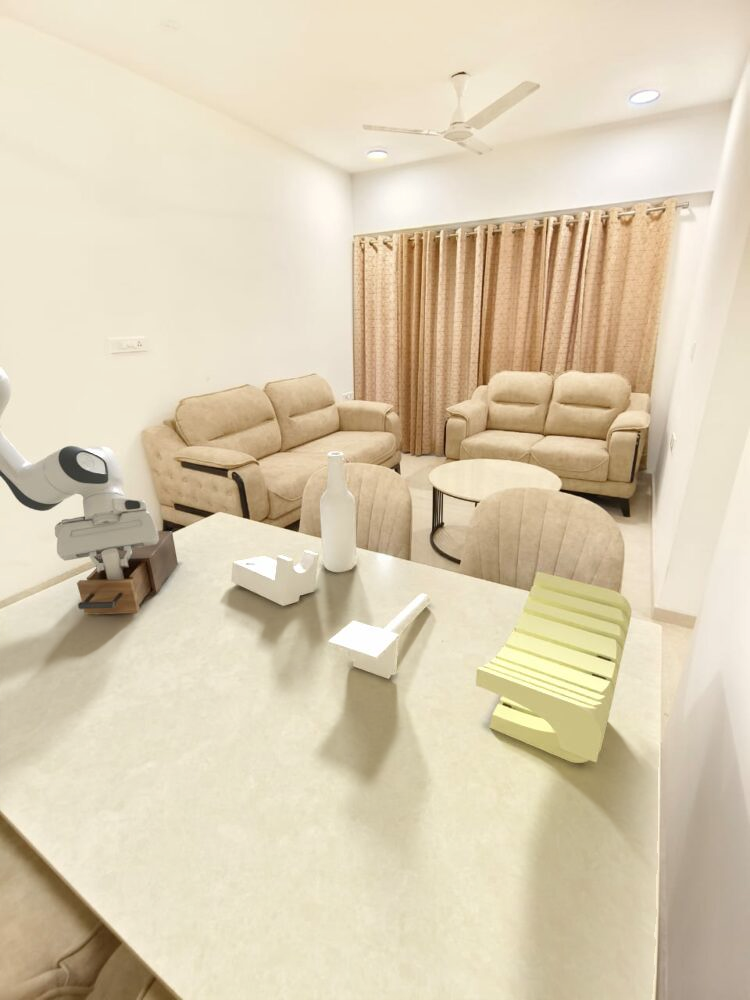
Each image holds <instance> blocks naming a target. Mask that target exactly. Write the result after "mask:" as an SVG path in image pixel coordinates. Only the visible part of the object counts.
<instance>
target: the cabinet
mask: <svg viewBox="0 0 750 1000" xmlns="http://www.w3.org/2000/svg"><path fill="white" fill-rule="evenodd" d="M157 532H158V536H159V541H158V543H157V544H155V545H150V546H144V547H139V548H133V549H132V554H131V556H130V558H129V560H128V562H132V561H147V565H148V570H149V575H150V579H151V584H152V588H151V590H150V591H149V592H148V594H147V595H157V594H158V593H159V592H160V590H161V589H162V587H163V586H164V585H165V583H166V582H167V580H168V579H169V578H170V576H172V573H173V572H174V571H175V569H176V568H177V566H178V565H179V562H178V556H177V550H176V544H175V540H174V535H173V530H166V531H165V530H163V531H162V530H161V531H158V530H157ZM118 554H119V558H120V559H124V556H125V554H126V553H125V551H124V550H122V551H118ZM98 558H99V559H96V560H97V561H98V562H99V563H102V562H103V559H102V554H100V555H98ZM94 566H95V569H96V568H97V566H96V564H95V563H94Z"/></svg>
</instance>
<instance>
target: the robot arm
mask: <svg viewBox="0 0 750 1000" xmlns="http://www.w3.org/2000/svg"><path fill="white" fill-rule="evenodd" d="M11 394H12V386H11V380H10V378H9V376H8V374H7V373H6V372H5V370H4V369H3V367H1V366H0V420H1V419H2V416H3V414H4V412H5V410H6V407H7V406H8V404H9V402H10V398H11ZM0 477H1V479H2V480H3V481H4V483H6V485H7V486H8V488H9V490H10V491H11V493H12V494H13V496H14V497H15V499H16V500H17V501H18V502H19V503H20V504H21V505H23V506H25V507H26V508H29V509H31V510H33V511H40V512H45V511H49V510H52V509H54V508H56V506H58V505H60V503H62V502H64V501H65V500H67V499H69V498H71V497H73V496H74V495H80V496H82V507H83V515H82V516H77V517H73V518H64V519H62V520H61V521H60V522H59V521H58V523H56V524H55V526H54V535H55V538H56V554H57V556H58V557H59V558H60V559H61V560H63V561H71V560H72V561H73V560H76V559H82V558H88V557H89V559H90V560H91V561H92V562H93V564H94V565H95V564H96V565H95V567H96V566H97V572H98V573H103V572H106V571H105V567H104V563H99V562H98V561H97V560H96V559H99V558H98V555H100V554H101V552H102V551H104V550H106V549H110V548H116V549H117V550H118V551H122V550H124V551H125V553H126V554H125V556H124V559H120V563H121V564H120V566H121V569H123V568H129V565H128V560H129V558H130V556H131V554H132V549H133V548H139V547H144V546H150V545H155V544H157V543H158V541H159V536H158V528H157V525H156V523H155V519H154V517H153V515H152V514H151V513H150V511H149V507H148V505H147V503H146V502H145V501H144V500H139V499H131V498H126V495H125V493H124V476H123V471H122V466H121V463H120V461H119V458H118V456H117V455H116V453H115V452H114V451H113V450H112V449H111V448H109V447H107V446H101V445H92V446H88V447H86V448H82V447H79V446H74V445H67V446H64V447H62V448H59V449H58V450H56V451H54V452H52V453H51V454H49V455H47V456H46V457H45V458H43V459H40V460H39V461H37V462H36V463H33V462H32V463H31V462H30V461H28V460H26V459H25V457H24V456H23V455H22V453H20V452H19V450H18V449H17V447H15V446H14V445H13V443H12V442H11V441H10V440H9V438H7V436H6V435H5V434H4V433H3V430H2V428H1V426H0Z"/></svg>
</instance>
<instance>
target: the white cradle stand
mask: <svg viewBox="0 0 750 1000" xmlns="http://www.w3.org/2000/svg"><path fill="white" fill-rule="evenodd" d="M319 556H320V554H319V553H318V552H314V551H311V550H309V549H308V550H307V549H306V550H303V553H302V556H301V558H300V560H299V562H298V563H297V564H296V565H294V559H292V558H291V557H287V556H284V555H277V556H276V559H273V558H270V557H267V556H265V555H263V556H262V555H261V556H257V557H252V558H251V557H250V558H246V559H241V560H236V561H235V560H234V561H232V568H231V577H230V578H231V579H230V582H231V583H233V584H235V585H238V586H240V587H242V588H244V589H247V590H249V591H251V592H252V593H254V594H257V595H259V596H261V597H263V598H264V599H265V598H266V599H268V600H269V601H271V602H274V603H276V604H279V605H280V606H282V607H285V606H287V605H290V604H294V603H297V602H300V597H301V596H303V595H306V594H310V593H314V592H315V587H316V579H317V571H318V563H319Z"/></svg>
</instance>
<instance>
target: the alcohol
mask: <svg viewBox="0 0 750 1000" xmlns="http://www.w3.org/2000/svg"><path fill="white" fill-rule="evenodd" d="M344 456H345V454H344V453H343V452H341V451H329V452H327V454H326V457H327V459H326V461H327V477H326V478H327V482H326V489H325V491H324V492H323V493H322V494H321V497H320V500H319V518H320V519H319V520H320V534H321V535H320V536H321V550H322V551H321V552H322V553H321V554H322V555H321V556H322V564H323V566H324V568H325V569H326V570H327V571H330V572H333V573H345V572H349V571H350V570H352V569H354V568H355V567H356V565H357V563H358V553H357V552H358V551H357V521H356V520H357V519H356V500H355V497H354V495H353V493H352V492H351V491H350V490H349V489H348V486H347V481H346V480H347V479H346V470H345V458H344Z"/></svg>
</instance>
